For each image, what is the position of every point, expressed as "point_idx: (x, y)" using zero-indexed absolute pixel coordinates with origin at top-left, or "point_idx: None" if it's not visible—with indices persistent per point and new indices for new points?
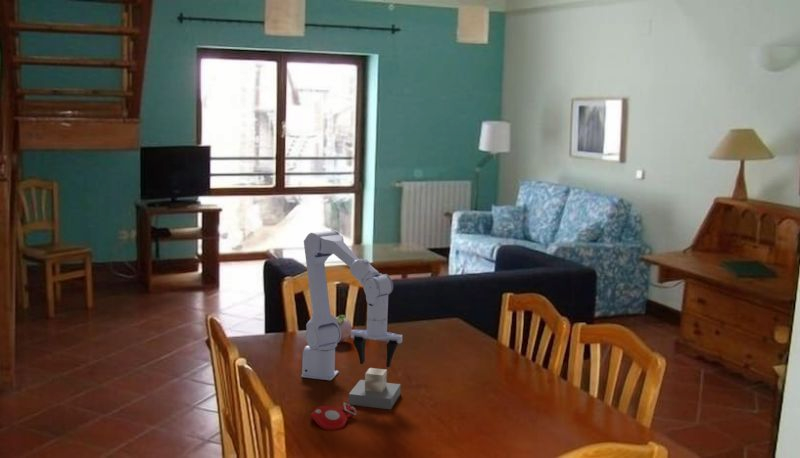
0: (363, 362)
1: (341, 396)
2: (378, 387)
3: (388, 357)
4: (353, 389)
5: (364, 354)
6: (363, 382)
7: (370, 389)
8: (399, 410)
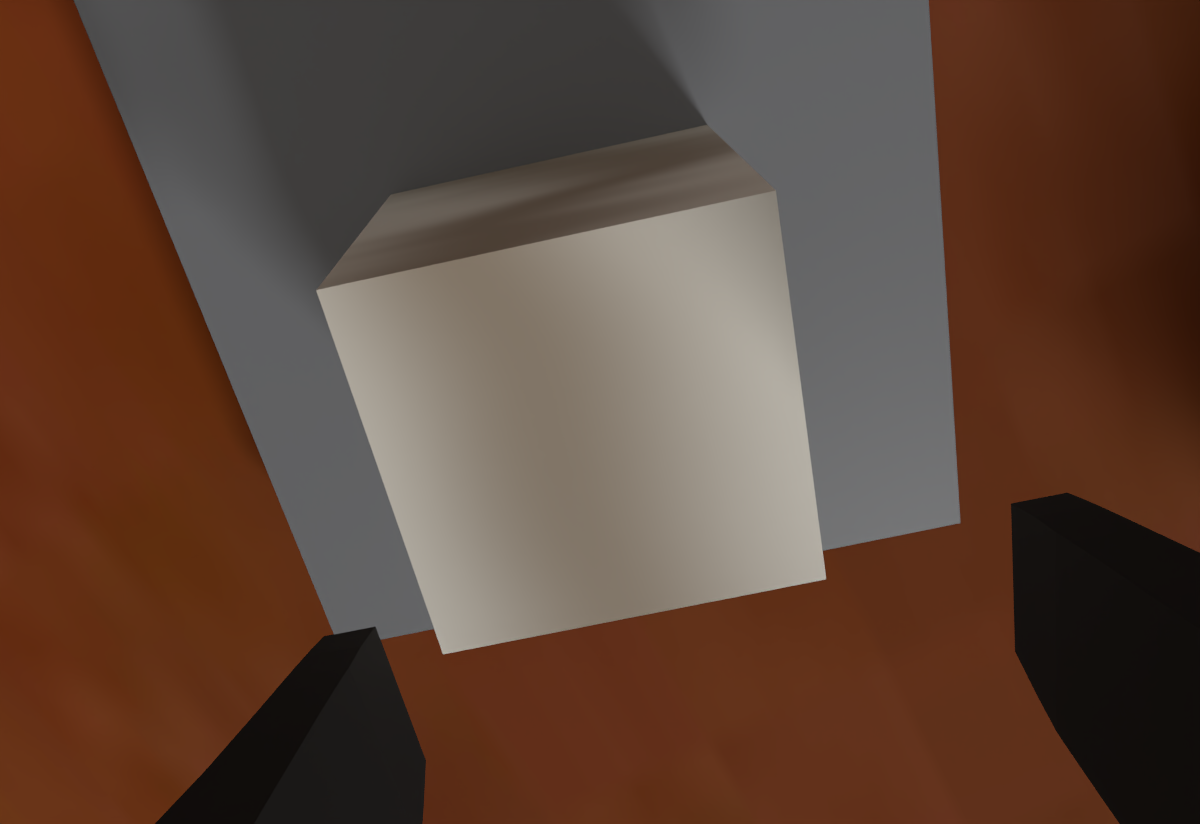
0: (1020, 595)
1: (1068, 86)
2: (445, 196)
3: (212, 821)
4: (911, 61)
5: (1124, 813)
6: (871, 446)
7: (602, 156)
8: (19, 20)
